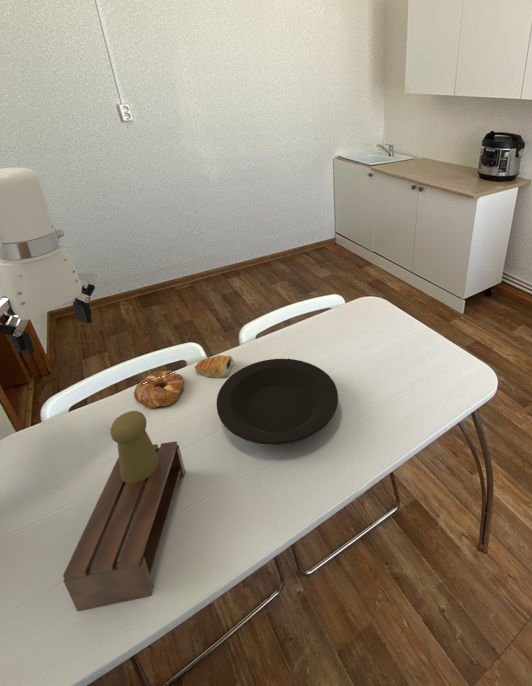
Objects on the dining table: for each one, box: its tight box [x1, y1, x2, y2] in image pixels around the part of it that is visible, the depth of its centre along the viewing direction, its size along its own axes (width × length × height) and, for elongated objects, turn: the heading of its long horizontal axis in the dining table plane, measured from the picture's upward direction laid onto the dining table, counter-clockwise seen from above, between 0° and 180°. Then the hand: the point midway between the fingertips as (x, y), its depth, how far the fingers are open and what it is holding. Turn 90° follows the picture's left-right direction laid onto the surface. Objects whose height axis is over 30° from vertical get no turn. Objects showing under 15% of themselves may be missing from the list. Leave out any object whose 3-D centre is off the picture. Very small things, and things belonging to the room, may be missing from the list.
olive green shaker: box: [110, 410, 160, 484], centre depth 65 cm, size 6×6×11 cm
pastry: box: [194, 354, 234, 379], centre depth 101 cm, size 9×7×4 cm
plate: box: [216, 358, 339, 446], centre depth 87 cm, size 28×24×6 cm
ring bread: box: [133, 370, 184, 409], centre depth 94 cm, size 12×11×4 cm
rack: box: [62, 440, 186, 612], centre depth 63 cm, size 10×20×8 cm, turn 10°
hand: (57, 335), depth 67 cm, fingers open, 9 cm apart
